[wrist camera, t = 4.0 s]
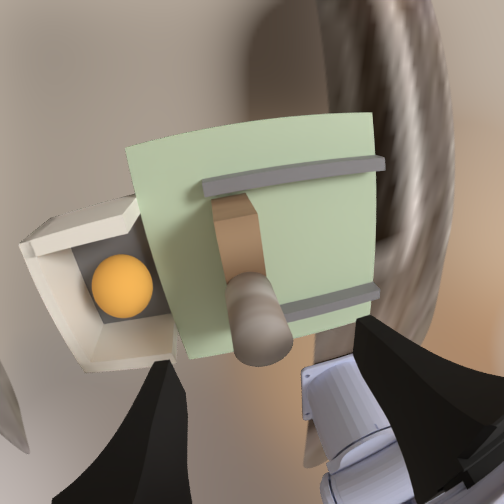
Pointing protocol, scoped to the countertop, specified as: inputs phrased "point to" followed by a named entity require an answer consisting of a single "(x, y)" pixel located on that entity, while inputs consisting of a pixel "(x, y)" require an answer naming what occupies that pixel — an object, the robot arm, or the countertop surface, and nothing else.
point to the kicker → (248, 285)
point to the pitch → (205, 241)
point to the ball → (122, 286)
